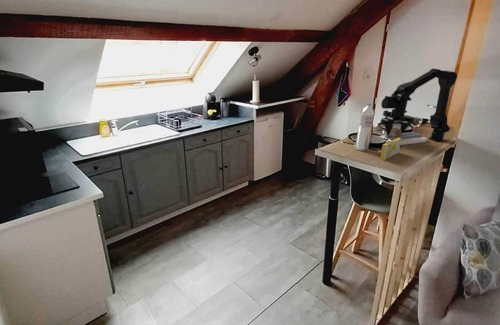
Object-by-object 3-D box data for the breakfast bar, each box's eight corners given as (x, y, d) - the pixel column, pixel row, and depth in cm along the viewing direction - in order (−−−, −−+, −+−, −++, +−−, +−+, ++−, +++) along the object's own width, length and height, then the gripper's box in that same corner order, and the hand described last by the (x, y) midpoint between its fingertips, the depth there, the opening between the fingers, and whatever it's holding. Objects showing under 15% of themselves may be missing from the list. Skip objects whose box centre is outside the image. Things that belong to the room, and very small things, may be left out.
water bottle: (367, 147, 161) (376, 102, 151) (368, 152, 155) (376, 105, 145) (354, 146, 163) (362, 101, 153) (354, 150, 157) (362, 104, 147)
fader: (393, 136, 173) (395, 127, 171) (399, 138, 169) (401, 130, 167) (387, 136, 172) (389, 128, 170) (394, 139, 168) (396, 130, 165)
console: (410, 135, 182) (411, 130, 180) (426, 141, 172) (428, 136, 170) (378, 139, 175) (380, 133, 174) (393, 145, 165) (394, 139, 163)
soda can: (371, 145, 165) (375, 124, 160) (358, 144, 166) (362, 124, 161) (369, 141, 171) (373, 121, 166) (356, 140, 172) (360, 120, 168)
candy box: (394, 152, 156) (398, 137, 153) (398, 153, 155) (402, 138, 151) (379, 159, 147) (382, 143, 143) (383, 160, 145) (386, 145, 142)
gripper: (402, 104, 173) (396, 129, 179) (376, 106, 167) (371, 131, 174) (417, 108, 163) (411, 134, 170) (390, 110, 158) (384, 137, 164)
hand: (394, 134), depth 169 cm, fingers open, 9 cm apart
